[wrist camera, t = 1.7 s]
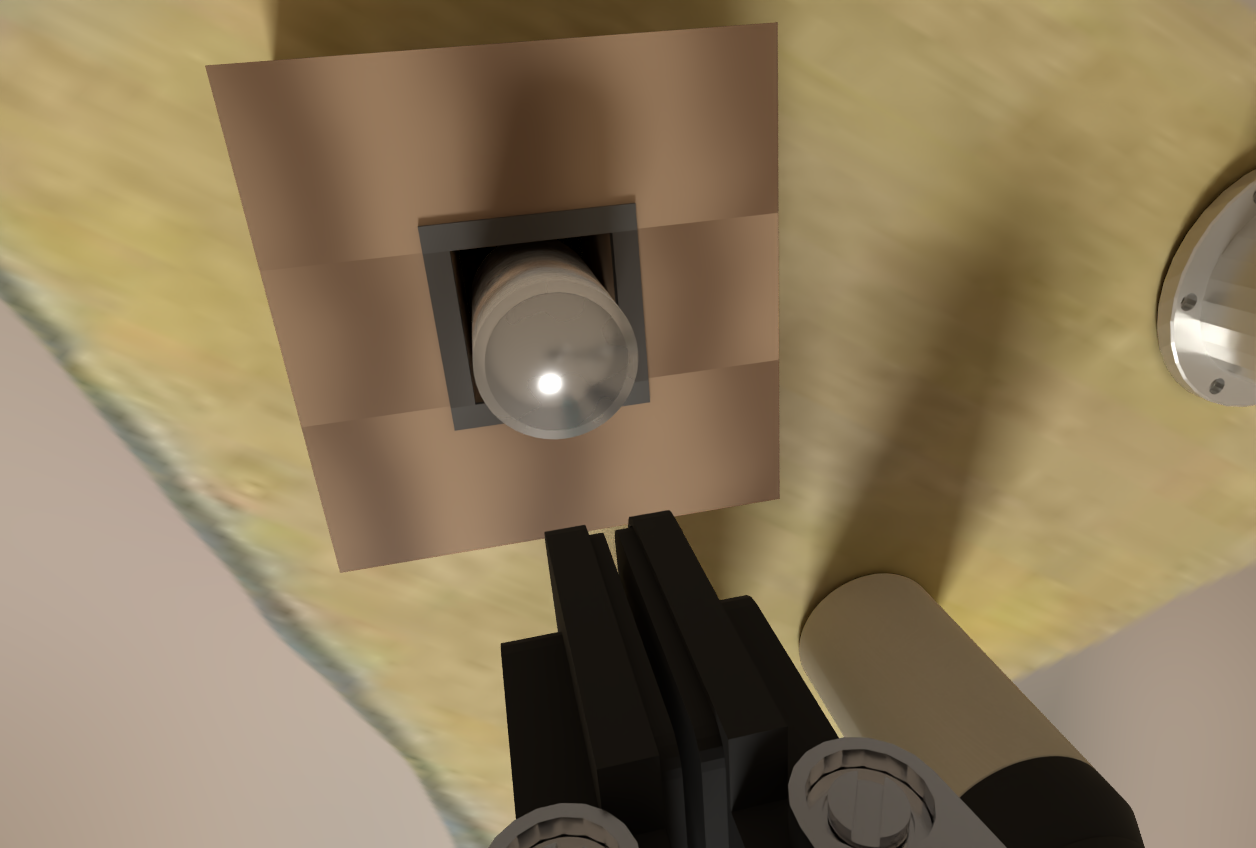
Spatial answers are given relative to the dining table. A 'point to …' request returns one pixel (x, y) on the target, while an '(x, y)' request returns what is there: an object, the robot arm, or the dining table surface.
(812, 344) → the dining table surface
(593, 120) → the block
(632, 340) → the steel dowel
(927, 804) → the robot arm
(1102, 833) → the travel mug
